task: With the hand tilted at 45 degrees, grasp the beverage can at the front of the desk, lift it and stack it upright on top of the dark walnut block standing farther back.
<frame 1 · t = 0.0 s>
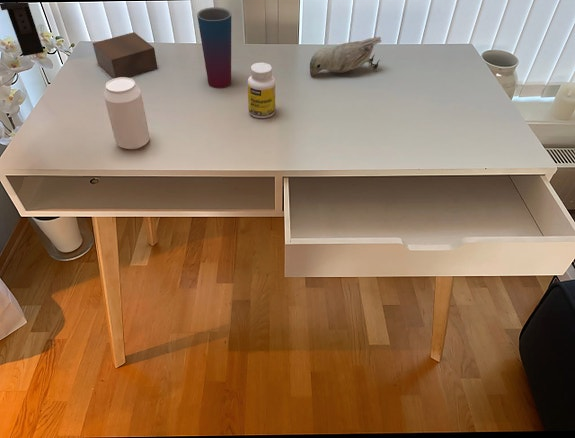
hand: (26, 34, 75), 23 cm above the table, tool pointing down, fingers open, 13 cm apart
supplement bottle: (261, 112, 104), on the table
cup: (219, 83, 112), on the table
decorative bird: (343, 73, 116), on the table
walnut block: (127, 66, 116), on the table
beverage can: (133, 143, 95), on the table
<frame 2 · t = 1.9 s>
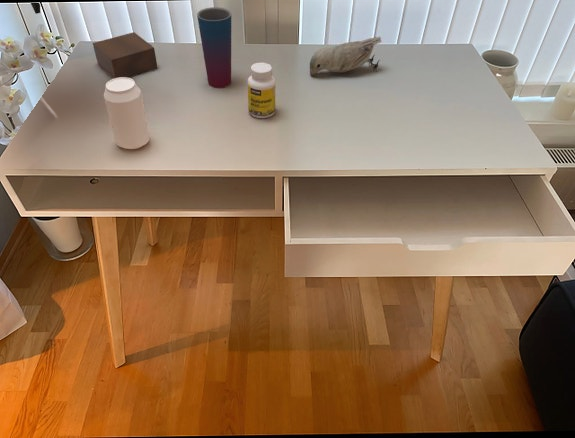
hand: (79, 0, 84), 23 cm above the table, tool tilted 45°, fingers open, 13 cm apart
nothing on the table moved.
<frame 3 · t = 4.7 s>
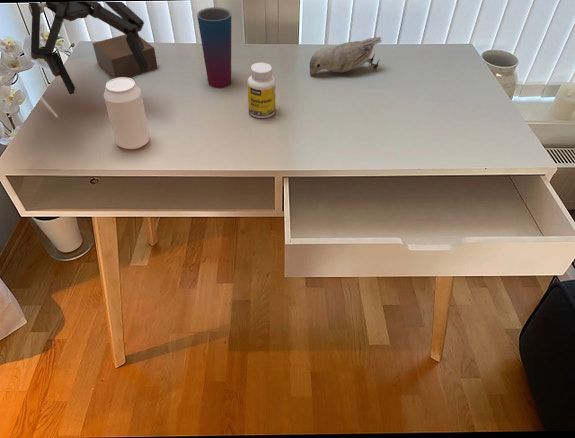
hand: (110, 79, 91), 11 cm above the table, tool tilted 45°, fingers open, 13 cm apart
nothing on the table moved.
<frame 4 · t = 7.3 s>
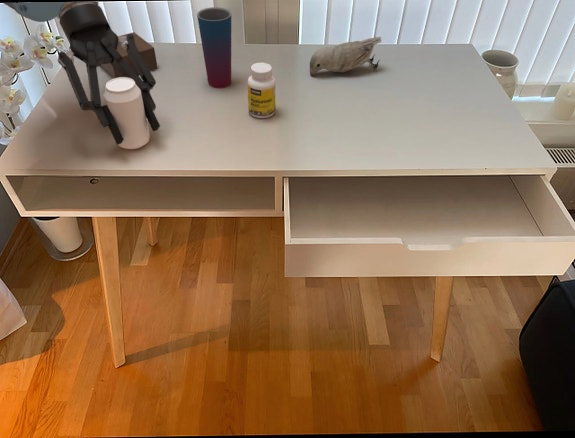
hand: (138, 135, 90), 4 cm above the table, tool tilted 45°, fingers closed on beverage can, 6 cm apart
beverage can: (133, 143, 95), on the table, touching gripper
everything else where it was.
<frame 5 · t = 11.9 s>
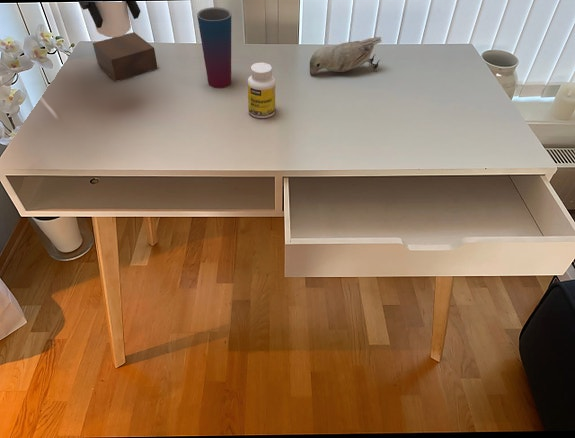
hand: (118, 19, 90), 19 cm above the table, tool tilted 45°, fingers closed on beverage can, 6 cm apart
beverage can: (115, 33, 95), point 15 cm above the table, touching gripper
everything else where it was.
when the fingers open (9 cm above the table, at t = 16.9 s): beverage can stays where it is, resting on walnut block.
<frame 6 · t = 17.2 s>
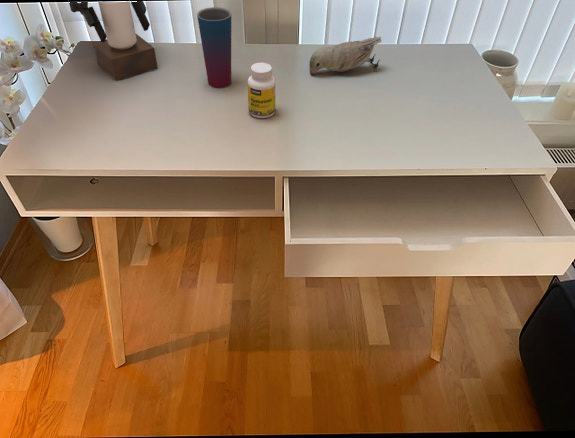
hand: (126, 33, 109), 9 cm above the table, tool tilted 45°, fingers open, 9 cm apart
walnut block: (127, 66, 116), on the table, touching beverage can
beverage can: (123, 46, 113), point 5 cm above the table, touching walnut block
everything else where it was.
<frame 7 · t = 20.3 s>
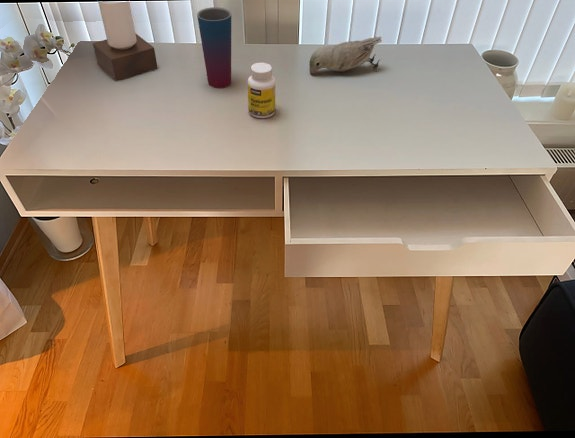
nothing on the table moved.
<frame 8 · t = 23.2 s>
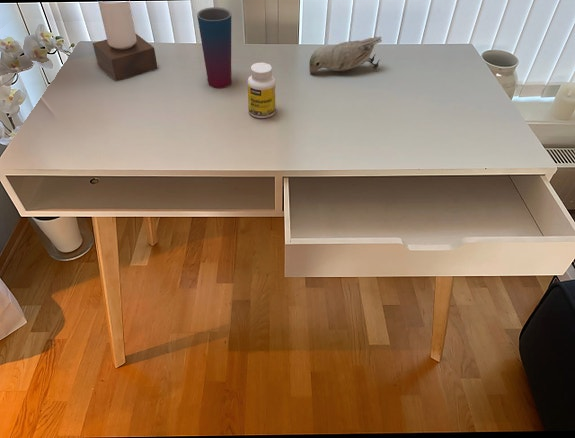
nothing on the table moved.
at the end: beverage can 0.0 cm off-centre on the walnut block, point 4.8 cm above the walnut block's base; beverage can tilted 0°; the gripper is holding nothing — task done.
